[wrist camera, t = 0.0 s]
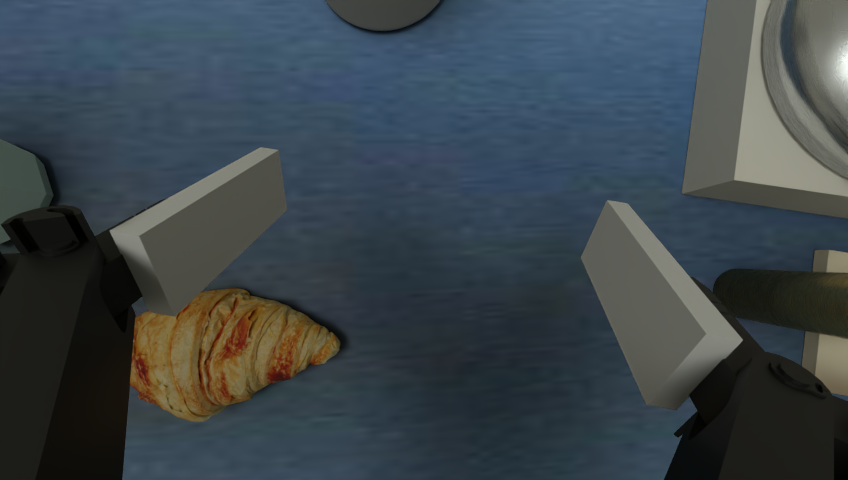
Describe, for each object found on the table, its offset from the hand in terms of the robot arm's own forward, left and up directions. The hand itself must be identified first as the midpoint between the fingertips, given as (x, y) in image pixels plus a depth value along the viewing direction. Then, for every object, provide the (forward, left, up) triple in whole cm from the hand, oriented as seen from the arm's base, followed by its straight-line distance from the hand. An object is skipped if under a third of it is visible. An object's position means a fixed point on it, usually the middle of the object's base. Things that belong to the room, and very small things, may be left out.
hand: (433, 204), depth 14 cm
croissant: (-13, +17, -16) cm, 26 cm away
